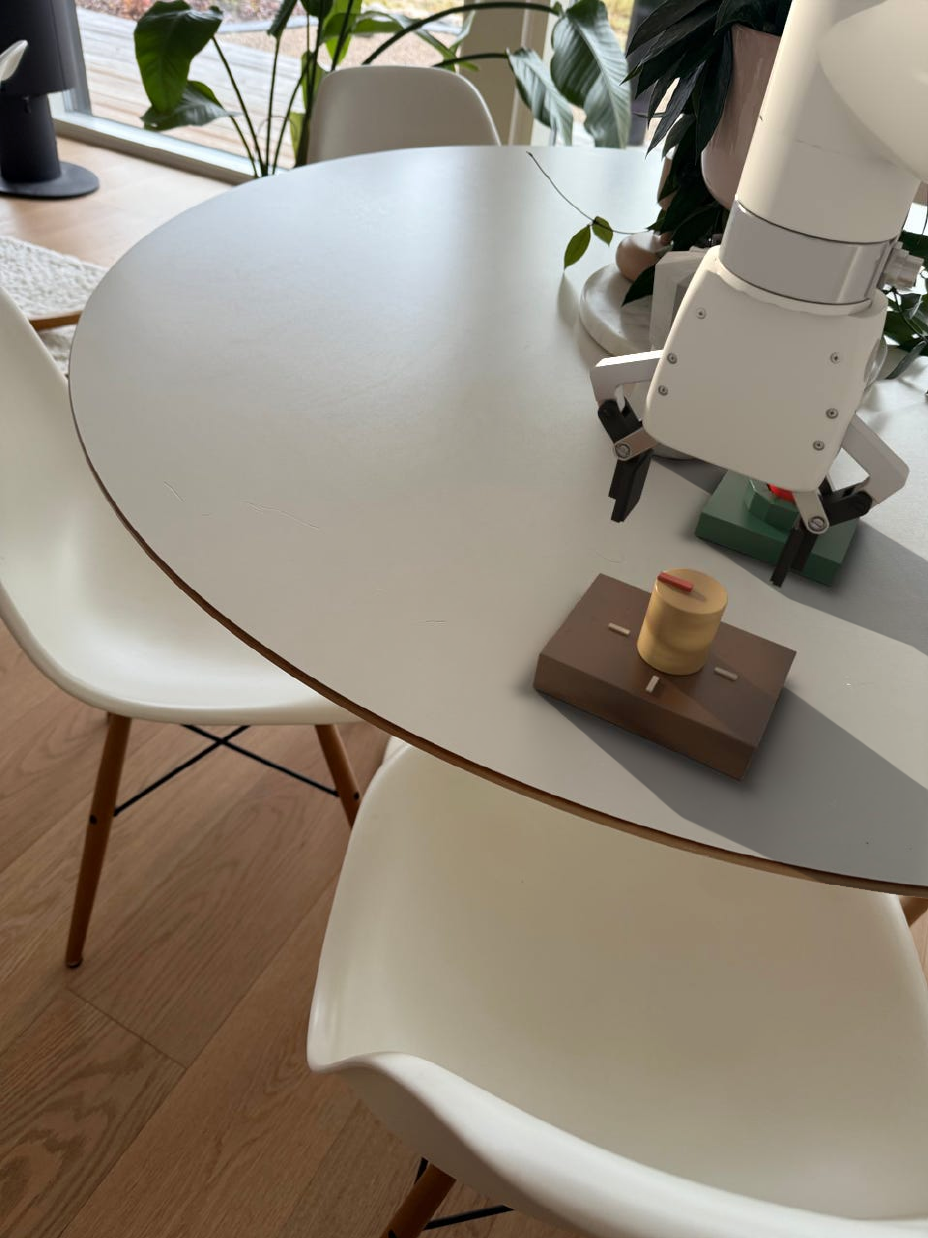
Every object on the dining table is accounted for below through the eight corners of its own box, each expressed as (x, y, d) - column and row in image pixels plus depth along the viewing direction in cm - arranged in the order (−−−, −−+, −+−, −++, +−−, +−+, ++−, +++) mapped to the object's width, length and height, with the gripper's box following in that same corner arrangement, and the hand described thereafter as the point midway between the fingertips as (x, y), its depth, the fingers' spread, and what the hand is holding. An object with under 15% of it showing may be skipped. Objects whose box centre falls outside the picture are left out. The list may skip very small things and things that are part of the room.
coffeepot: (611, 392, 96) (656, 199, 84) (708, 404, 96) (766, 213, 85) (624, 480, 84) (678, 270, 72) (734, 493, 84) (805, 286, 73)
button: (818, 490, 79) (826, 471, 78) (808, 511, 77) (816, 492, 76) (774, 474, 81) (781, 456, 79) (763, 494, 78) (770, 475, 77)
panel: (782, 684, 67) (798, 649, 65) (742, 781, 60) (757, 745, 58) (590, 604, 71) (599, 569, 69) (531, 687, 64) (539, 651, 62)
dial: (714, 645, 64) (738, 581, 61) (693, 685, 61) (717, 620, 58) (650, 619, 66) (670, 555, 62) (626, 657, 63) (646, 591, 59)
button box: (856, 524, 83) (874, 483, 80) (830, 586, 76) (849, 544, 73) (729, 479, 86) (742, 438, 84) (693, 534, 79) (707, 492, 77)
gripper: (999, 282, 47) (860, 565, 58) (657, 182, 52) (589, 461, 63) (982, 337, 42) (833, 637, 53) (604, 220, 47) (540, 517, 58)
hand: (700, 541), depth 58 cm, fingers open, 9 cm apart
